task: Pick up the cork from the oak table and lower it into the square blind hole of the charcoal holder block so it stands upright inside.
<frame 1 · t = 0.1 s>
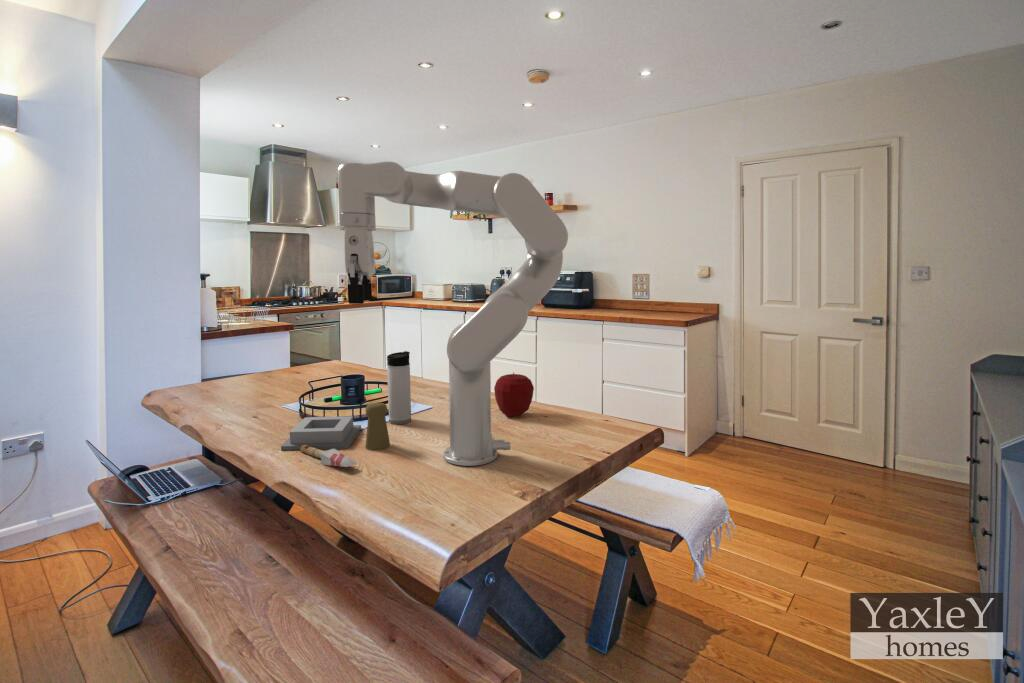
hand: (360, 301, 119), 37 cm above the table, fingers open, 9 cm apart
holder: (323, 438, 138), on the table
paintbrush: (327, 462, 123), on the table
travel mug: (400, 421, 154), on the table
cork: (377, 447, 133), on the table
apple: (514, 416, 159), on the table
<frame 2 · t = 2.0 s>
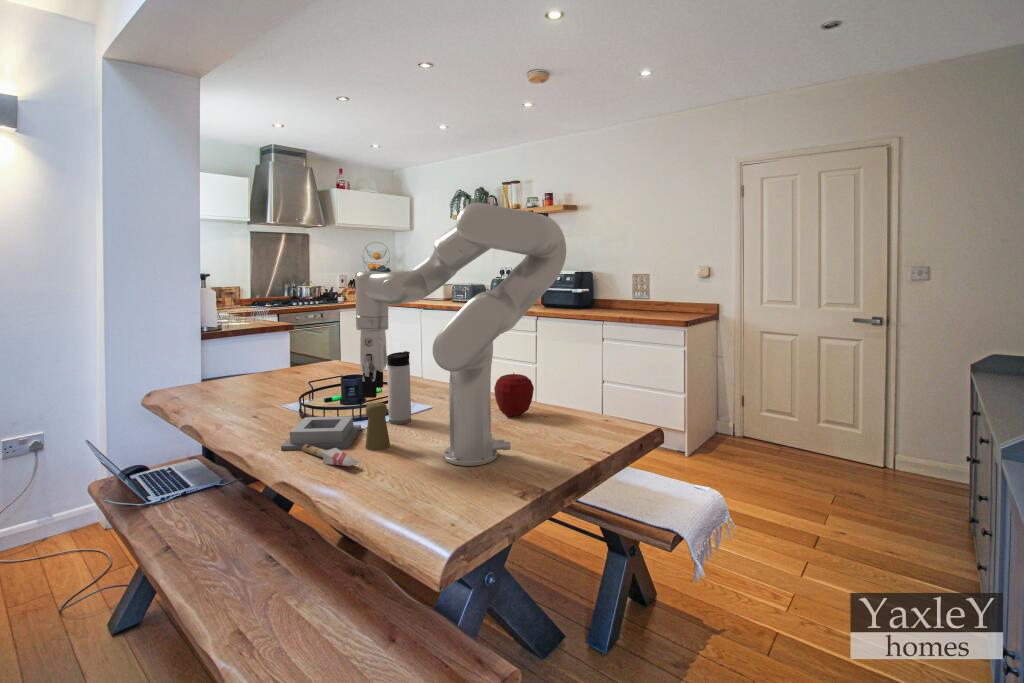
hand: (373, 392, 131), 14 cm above the table, fingers open, 9 cm apart
nothing on the table moved.
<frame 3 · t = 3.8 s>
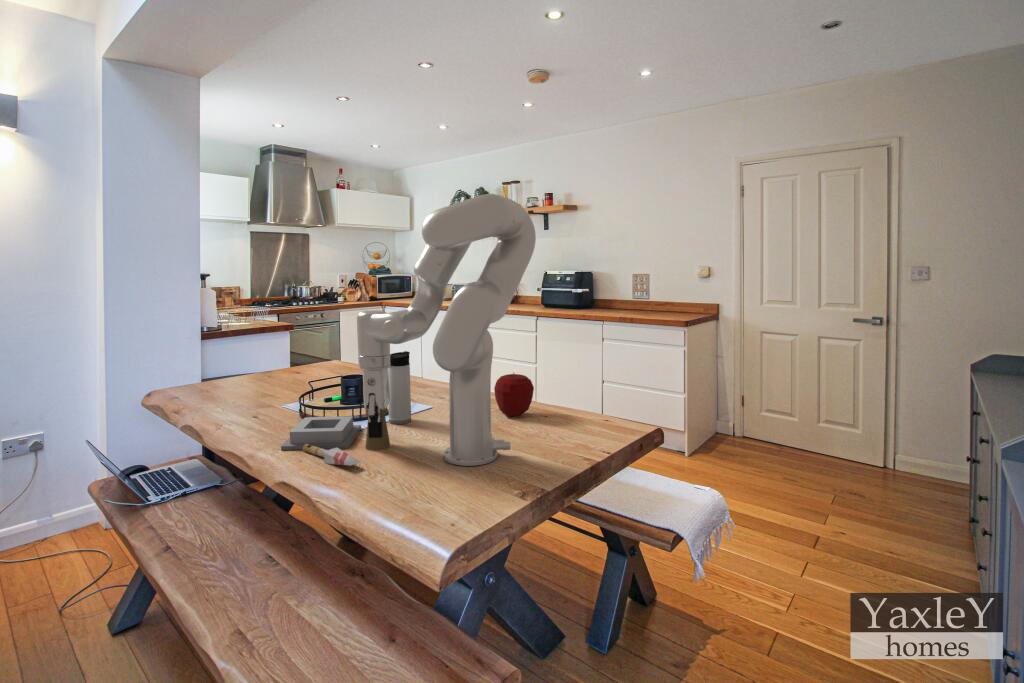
hand: (377, 433, 132), 3 cm above the table, fingers closed on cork, 4 cm apart
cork: (377, 447, 133), on the table, touching gripper
everything else where it was.
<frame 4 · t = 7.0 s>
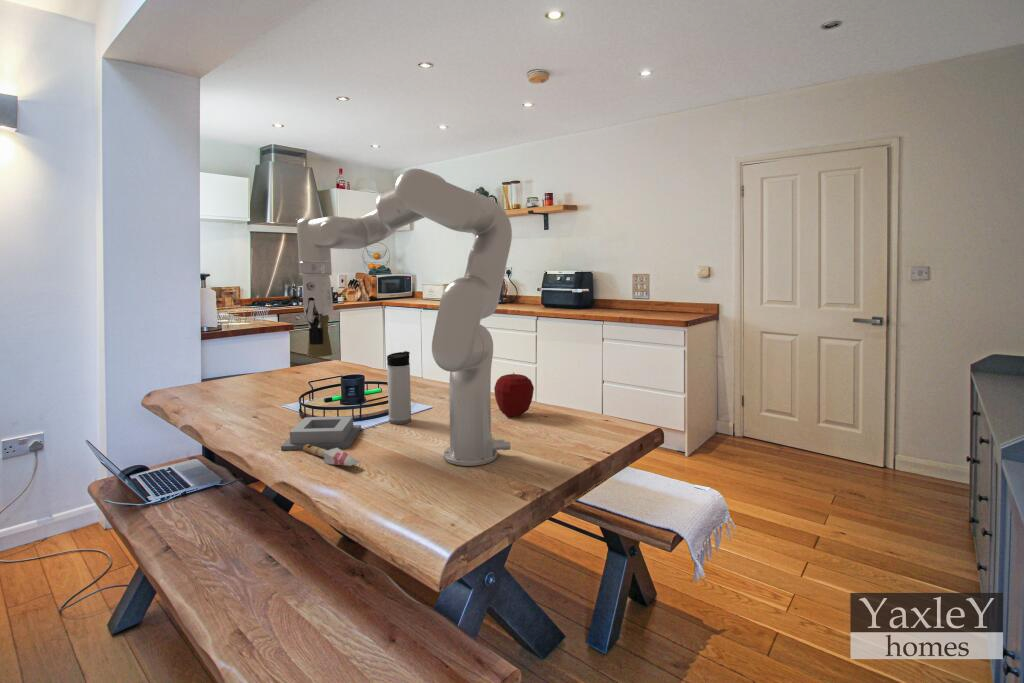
hand: (319, 342, 135), 25 cm above the table, fingers closed on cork, 4 cm apart
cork: (319, 355, 135), point 22 cm above the table, touching gripper
everything else where it was.
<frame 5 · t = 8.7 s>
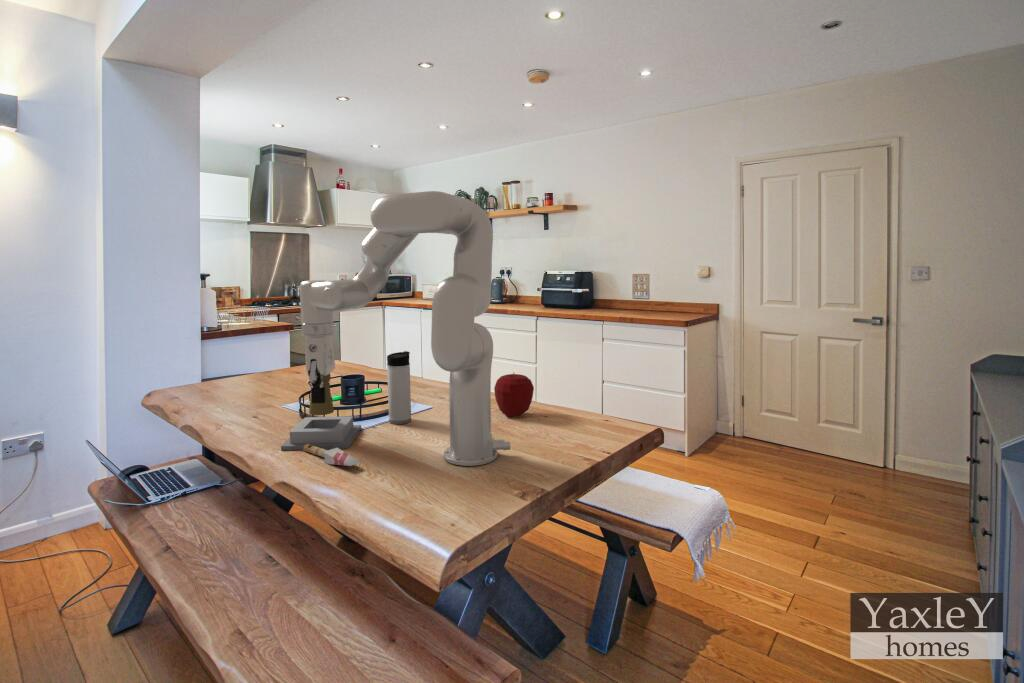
hand: (321, 399, 137), 10 cm above the table, fingers closed on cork, 4 cm apart
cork: (321, 412, 137), point 7 cm above the table, touching gripper
everything else where it was.
when the fingers open (5 cm above the table, at t = 10.2 s): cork stays where it is, resting on holder.
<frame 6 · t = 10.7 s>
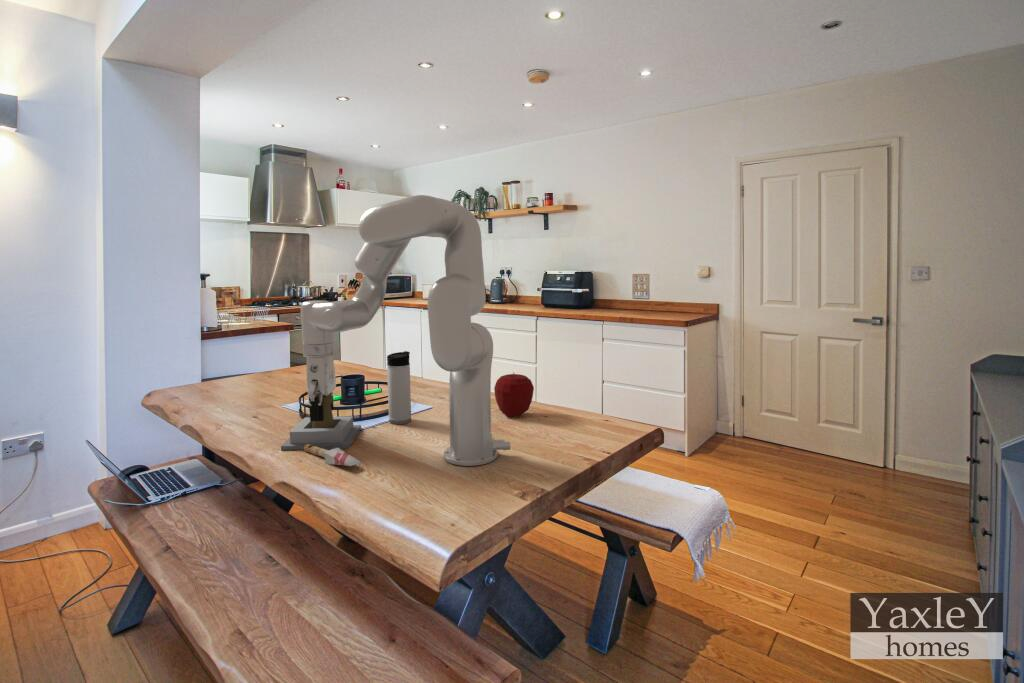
hand: (322, 415, 138), 6 cm above the table, fingers open, 9 cm apart
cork: (324, 435, 138), point 1 cm above the table, touching holder
everything else where it was.
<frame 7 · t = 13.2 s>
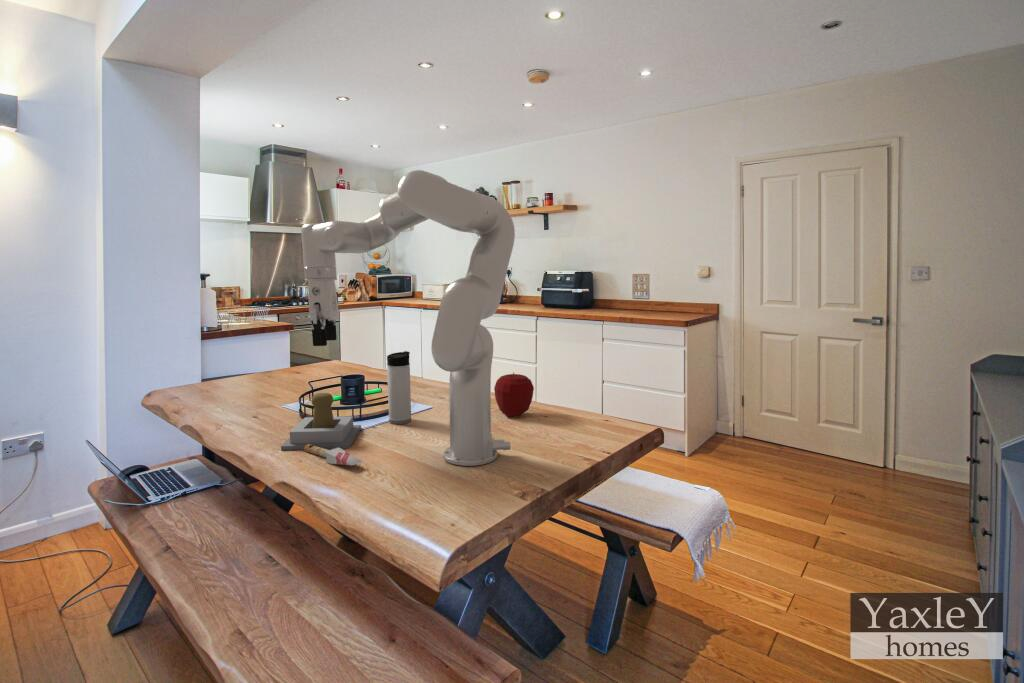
hand: (325, 342, 135), 25 cm above the table, fingers open, 9 cm apart
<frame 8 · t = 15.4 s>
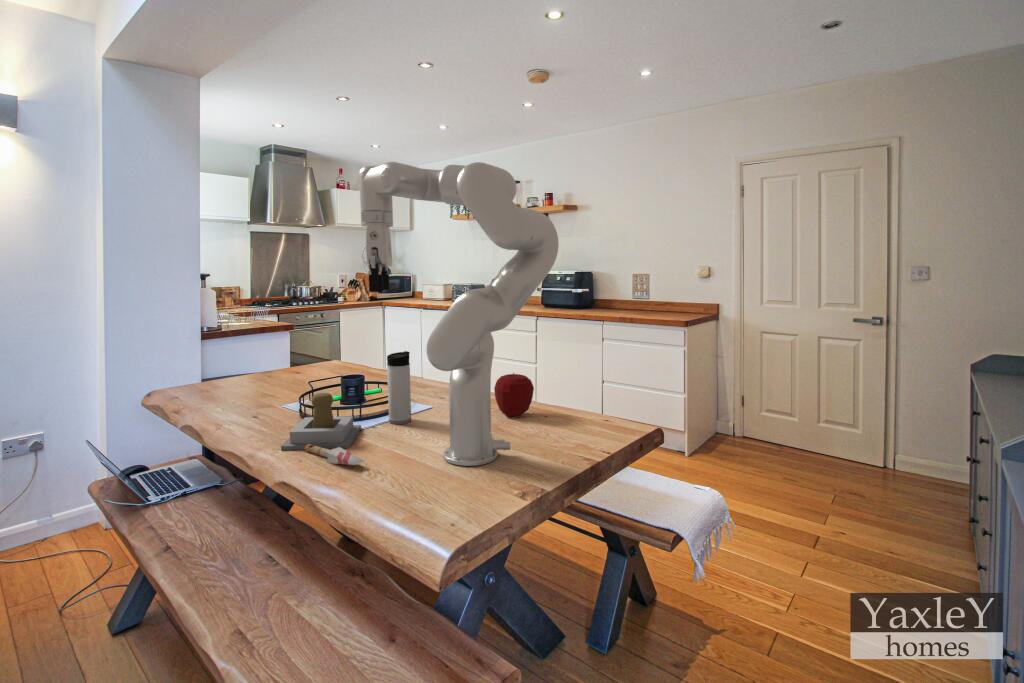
hand: (379, 290, 132), 38 cm above the table, fingers open, 9 cm apart
at the end: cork 0.2 cm off-centre on the holder, point 0.8 cm above the holder's base; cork tilted 0°; the gripper is holding nothing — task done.
